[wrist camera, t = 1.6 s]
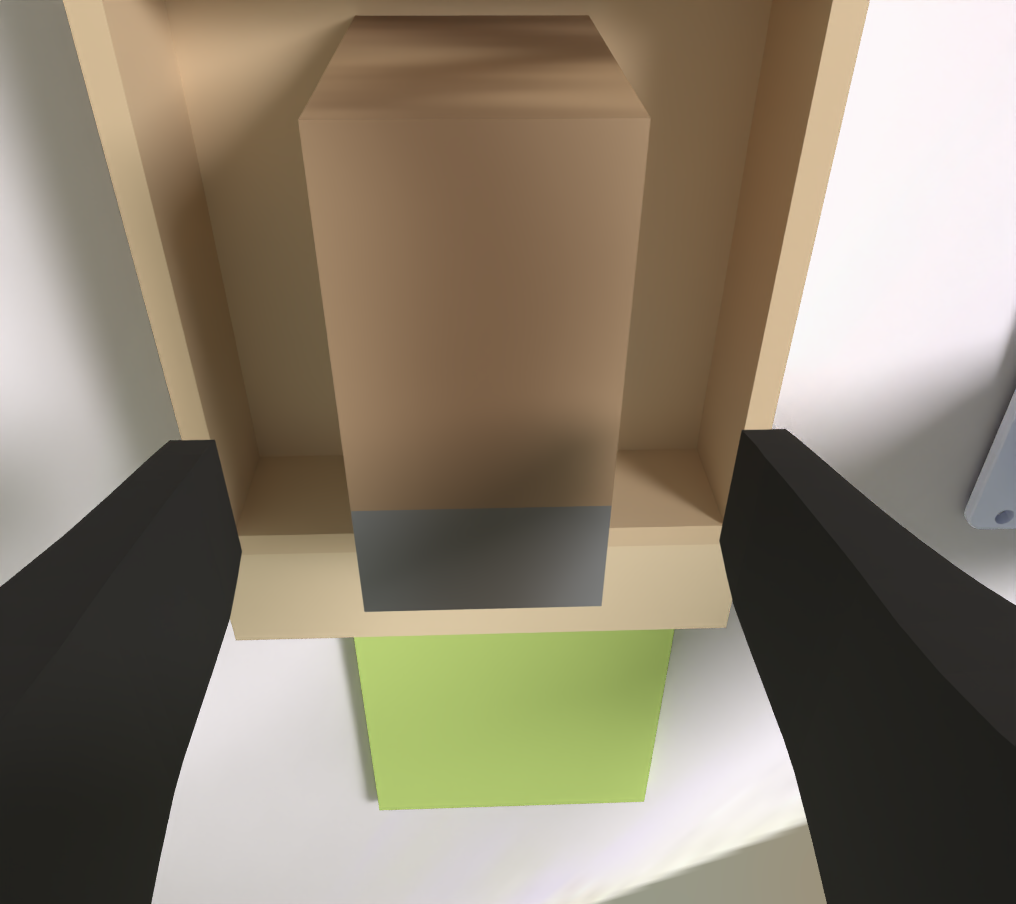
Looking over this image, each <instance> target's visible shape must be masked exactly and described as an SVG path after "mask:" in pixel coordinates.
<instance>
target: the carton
mask: <svg viewBox="0 0 1016 904" xmlns="http://www.w3.org/2000/svg"><path fill="white" fill-rule="evenodd" d="M869 1H870V0H63V3H64V7H65V10H66V14H67V18H68V22H69V25H70V29H71V33H72V36H73V40H74V44H75V47H76V51H77V55H78V58H79V62H80V66H81V70H82V73H83V77H84V81H85V84H86V88H87V92H88V95H89V99H90V103H91V106H92V110H93V114H94V118H95V121H96V125H97V129H98V132H99V136H100V140H101V143H102V147H103V151H104V155H105V158H106V162H107V166H108V169H109V173H110V177H111V180H112V184H113V188H114V191H115V195H116V199H117V203H118V206H119V210H120V214H121V217H122V221H123V225H124V228H125V232H126V236H127V239H128V243H129V247H130V251H131V254H132V258H133V262H134V265H135V269H136V273H137V276H138V280H139V284H140V287H141V291H142V295H143V299H144V302H145V306H146V310H147V313H148V317H149V321H150V324H151V328H152V332H153V336H154V339H155V343H156V347H157V350H158V354H159V358H160V361H161V365H162V369H163V372H164V376H165V380H166V384H167V387H168V391H169V395H170V398H171V402H172V406H173V409H174V413H175V417H176V420H177V424H178V428H179V432H180V435H181V439H182V440H215V441H216V446H217V450H218V454H219V458H220V462H221V466H222V470H223V474H224V479H225V483H226V487H227V491H228V495H229V499H230V503H231V507H232V512H233V516H234V520H235V524H236V528H237V532H238V536H239V540H240V544H241V549H242V555H241V561H240V567H239V573H238V579H237V585H236V590H235V596H234V601H233V606H232V611H231V616H230V620H231V624H232V627H233V631H234V635H235V638H236V640H268V639H307V638H345V637H384V636H423V635H462V634H501V633H540V632H579V631H618V630H657V629H696V628H726V625H727V621H728V616H729V612H730V608H731V603H732V596H731V592H730V588H729V584H728V580H727V575H726V571H725V566H724V561H723V556H722V552H721V547H720V542H719V539H720V534H721V529H722V524H723V519H724V514H725V509H726V504H727V499H728V494H729V490H730V485H731V480H732V475H733V470H734V465H735V460H736V455H737V450H738V445H739V441H740V436H741V431H742V430H764V429H772V424H773V420H774V416H775V411H776V407H777V403H778V398H779V394H780V390H781V385H782V381H783V376H784V372H785V368H786V363H787V359H788V355H789V350H790V346H791V342H792V337H793V333H794V328H795V324H796V320H797V315H798V311H799V307H800V302H801V298H802V294H803V289H804V285H805V280H806V276H807V272H808V267H809V263H810V259H811V254H812V250H813V246H814V241H815V237H816V232H817V228H818V224H819V219H820V215H821V211H822V206H823V202H824V198H825V193H826V189H827V184H828V180H829V176H830V171H831V167H832V163H833V158H834V154H835V150H836V145H837V141H838V136H839V132H840V128H841V123H842V119H843V115H844V110H845V106H846V102H847V97H848V93H849V88H850V84H851V80H852V75H853V71H854V67H855V62H856V58H857V54H858V49H859V45H860V40H861V36H862V32H863V27H864V23H865V19H866V14H867V10H868V6H869ZM461 15H589V17H590V18H591V20H592V22H593V23H594V25H595V27H596V28H597V30H598V31H599V33H600V35H601V36H602V38H603V40H604V41H605V43H606V45H607V46H608V48H609V50H610V51H611V53H612V55H613V56H614V58H615V60H616V61H617V63H618V65H619V66H620V68H621V70H622V71H623V73H624V75H625V76H626V78H627V80H628V81H629V83H630V85H631V86H632V88H633V90H634V91H635V93H636V95H637V96H638V98H639V100H640V101H641V103H642V105H643V106H644V108H645V110H646V111H647V113H648V115H649V116H650V118H651V121H650V131H649V141H648V151H647V161H646V171H645V180H644V190H643V200H642V210H641V220H640V230H639V240H638V250H637V260H636V270H635V280H634V289H633V299H632V309H631V319H630V329H629V339H628V349H627V359H626V369H625V379H624V389H623V398H622V408H621V418H620V428H619V438H618V448H617V458H616V468H615V478H614V488H613V498H612V507H611V517H610V527H609V537H608V547H607V557H606V567H605V577H604V587H603V597H602V606H586V607H546V608H506V609H465V610H425V611H384V612H364V605H363V598H362V590H361V583H360V576H359V568H358V561H357V553H356V546H355V538H354V531H353V524H352V516H351V509H350V501H349V494H348V487H347V479H346V472H345V464H344V457H343V450H342V442H341V435H340V427H339V420H338V413H337V405H336V398H335V390H334V383H333V375H332V368H331V361H330V353H329V346H328V338H327V331H326V324H325V316H324V309H323V301H322V294H321V287H320V279H319V272H318V264H317V257H316V250H315V242H314V235H313V227H312V220H311V213H310V205H309V198H308V190H307V183H306V175H305V168H304V161H303V153H302V146H301V138H300V131H299V124H298V119H299V117H300V116H301V114H302V112H303V110H304V108H305V106H306V105H307V103H308V101H309V99H310V97H311V96H312V94H313V92H314V90H315V88H316V86H317V85H318V83H319V81H320V79H321V77H322V75H323V74H324V72H325V70H326V68H327V66H328V64H329V63H330V61H331V59H332V57H333V55H334V53H335V52H336V50H337V48H338V46H339V44H340V43H341V41H342V39H343V37H344V35H345V33H346V32H347V30H348V28H349V26H350V24H351V22H352V21H353V19H354V17H355V16H461Z"/></svg>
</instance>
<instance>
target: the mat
mask: <svg viewBox="0 0 1016 904" xmlns="http://www.w3.org/2000/svg"><path fill="white" fill-rule="evenodd" d="M674 630H675V629H657V630H618V631H579V632H540V633H501V634H462V635H423V636H384V637H354V642H355V649H356V656H357V662H358V669H359V676H360V682H361V689H362V696H363V702H364V709H365V716H366V723H367V729H368V736H369V743H370V749H371V756H372V763H373V769H374V776H375V783H376V790H377V796H378V803H379V810H402V809H432V808H463V807H494V806H524V805H555V804H586V803H616V802H644V799H645V793H646V788H647V782H648V776H649V771H650V765H651V759H652V754H653V748H654V742H655V737H656V731H657V725H658V720H659V714H660V709H661V703H662V697H663V692H664V686H665V680H666V675H667V669H668V663H669V658H670V652H671V647H672V641H673V635H674Z"/></svg>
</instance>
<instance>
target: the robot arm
mask: <svg viewBox="0 0 1016 904" xmlns="http://www.w3.org/2000/svg"><path fill="white" fill-rule="evenodd" d="M1002 511H1004V512H1002ZM1000 512H1002V513H1001V514H999V513H1000ZM964 516H965V519H966V520H967V522H968V523H969V524H970V526H971V527H973V528H975V529H1016V389H1015V392H1014V394H1013V396H1012V399H1011V401H1010V404H1009V406H1008V408H1007V411H1006V413H1005V415H1004V418H1003V420H1002V423H1001V425H1000V427H999V430H998V432H997V434H996V437H995V439H994V442H993V444H992V446H991V449H990V451H989V453H988V456H987V458H986V461H985V463H984V465H983V468H982V470H981V472H980V475H979V477H978V480H977V482H976V484H975V487H974V489H973V491H972V494H971V496H970V499H969V501H968V503H967V506H966V508H965V511H964ZM719 542H720V547H721V552H722V556H723V561H724V566H725V571H726V575H727V580H728V584H729V588H730V592H731V596H732V601H733V604H734V607H735V610H736V613H737V616H738V618H739V621H740V624H741V627H742V629H743V632H744V635H745V637H746V640H747V643H748V646H749V648H750V651H751V654H752V656H753V659H754V662H755V664H756V667H757V670H758V672H759V675H760V678H761V680H762V683H763V686H764V688H765V691H766V694H767V696H768V699H769V702H770V704H771V707H772V710H773V712H774V715H775V718H776V720H777V723H778V726H779V728H780V731H781V733H782V736H783V739H784V742H785V745H786V748H787V751H788V754H789V757H790V760H791V763H792V766H793V769H794V772H795V776H796V780H797V784H798V788H799V792H800V795H801V799H802V803H803V807H804V811H805V815H806V819H807V823H808V826H809V830H810V834H811V838H812V842H813V846H814V850H815V855H816V859H817V863H818V867H819V872H820V876H821V880H822V884H823V889H824V893H825V897H826V901H827V904H1016V605H1014V604H1013V603H1011V602H1009V601H1008V600H1006V599H1005V598H1003V597H1001V596H1000V595H998V594H997V593H995V592H993V591H992V590H990V589H989V588H987V587H986V586H984V585H982V584H981V583H979V582H978V581H977V580H975V579H974V578H972V577H971V576H969V575H968V574H966V573H965V572H963V571H962V570H960V569H959V568H957V567H956V566H955V565H953V564H952V563H951V562H949V561H948V560H947V559H945V558H944V557H942V556H941V555H940V554H938V553H937V552H936V551H934V550H933V549H931V548H930V547H929V546H927V545H926V544H925V543H923V542H922V541H921V540H919V539H918V538H917V537H915V536H914V535H913V534H911V533H910V532H909V531H908V530H906V529H905V528H904V527H902V526H901V525H900V524H899V523H897V522H896V521H895V520H894V519H892V518H891V517H890V516H889V515H887V514H886V513H885V512H884V511H882V510H881V509H880V508H879V507H878V506H876V505H875V504H874V503H873V502H871V501H870V500H869V499H868V498H867V497H865V496H864V495H863V494H862V493H861V492H859V491H858V490H857V489H856V488H855V487H854V486H852V485H851V484H850V483H849V482H848V481H847V480H845V479H844V478H843V477H842V476H841V475H840V474H838V473H837V472H836V471H835V470H834V469H833V468H831V467H830V466H829V465H828V464H827V463H826V462H824V461H823V460H822V459H821V458H820V457H819V456H817V455H816V454H815V453H814V452H813V451H812V450H810V449H809V448H808V447H807V446H806V445H805V444H803V443H802V442H801V441H800V440H799V439H797V438H796V437H795V436H794V435H792V434H791V433H790V432H788V431H787V430H786V429H764V430H742V431H741V436H740V441H739V445H738V450H737V455H736V460H735V465H734V470H733V475H732V480H731V485H730V490H729V494H728V499H727V504H726V509H725V514H724V519H723V524H722V529H721V534H720V539H719ZM241 555H242V549H241V544H240V540H239V536H238V532H237V528H236V524H235V520H234V516H233V512H232V507H231V503H230V499H229V495H228V491H227V487H226V483H225V479H224V474H223V470H222V466H221V462H220V458H219V454H218V450H217V446H216V441H215V440H170V441H169V442H167V443H166V444H165V445H164V446H163V447H161V448H160V449H159V450H158V451H157V452H156V453H155V454H153V455H152V456H151V457H150V458H149V459H148V460H147V461H146V462H145V463H144V464H142V465H141V466H140V467H139V468H138V469H137V470H136V471H135V472H134V473H133V474H132V475H130V476H129V477H128V478H127V479H126V480H125V481H124V482H123V483H122V484H121V485H120V486H119V487H117V488H116V489H115V490H114V491H113V492H112V493H111V494H110V495H109V496H108V497H107V498H105V499H104V500H103V501H102V502H101V503H100V504H99V505H98V506H96V507H95V508H94V509H93V510H92V511H91V512H90V513H89V514H87V515H86V516H85V517H84V518H83V519H82V520H81V521H80V522H79V523H77V524H76V525H75V526H74V527H73V528H72V529H71V530H70V531H68V532H67V533H66V534H65V535H64V536H63V537H61V538H60V539H59V540H58V541H56V542H55V543H54V544H53V545H51V546H50V547H49V548H48V549H47V550H45V551H44V552H43V553H42V554H40V555H39V556H38V557H37V558H35V559H34V560H33V561H32V562H31V563H29V564H28V565H27V566H26V567H24V568H23V569H22V570H21V571H19V572H18V573H17V574H16V575H15V576H13V577H12V578H11V579H10V580H8V581H7V582H6V583H5V584H3V585H2V586H1V587H0V904H151V902H152V897H153V892H154V886H155V881H156V876H157V871H158V866H159V861H160V856H161V852H162V847H163V842H164V838H165V833H166V828H167V824H168V819H169V815H170V810H171V805H172V801H173V796H174V792H175V788H176V785H177V781H178V778H179V774H180V770H181V767H182V763H183V760H184V757H185V754H186V751H187V748H188V745H189V742H190V739H191V736H192V733H193V730H194V727H195V724H196V721H197V717H198V714H199V711H200V708H201V705H202V702H203V699H204V696H205V693H206V690H207V687H208V684H209V681H210V678H211V675H212V672H213V669H214V666H215V663H216V660H217V657H218V654H219V651H220V648H221V645H222V641H223V638H224V635H225V632H226V629H227V626H228V622H229V619H230V616H231V611H232V606H233V601H234V596H235V590H236V585H237V579H238V573H239V567H240V561H241Z"/></svg>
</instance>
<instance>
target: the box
mask: <svg viewBox="0 0 1016 904" xmlns="http://www.w3.org/2000/svg"><path fill="white" fill-rule="evenodd" d="M650 121H651V118H650V116H649V115H648V113H647V111H646V110H645V108H644V106H643V105H642V103H641V101H640V100H639V98H638V96H637V95H636V93H635V91H634V90H633V88H632V86H631V85H630V83H629V81H628V80H627V78H626V76H625V75H624V73H623V71H622V70H621V68H620V66H619V65H618V63H617V61H616V60H615V58H614V56H613V55H612V53H611V51H610V50H609V48H608V46H607V45H606V43H605V41H604V40H603V38H602V36H601V35H600V33H599V31H598V30H597V28H596V27H595V25H594V23H593V22H592V20H591V18H590V17H589V15H461V16H355V17H354V19H353V21H352V22H351V24H350V26H349V28H348V30H347V32H346V33H345V35H344V37H343V39H342V41H341V43H340V44H339V46H338V48H337V50H336V52H335V53H334V55H333V57H332V59H331V61H330V63H329V64H328V66H327V68H326V70H325V72H324V74H323V75H322V77H321V79H320V81H319V83H318V85H317V86H316V88H315V90H314V92H313V94H312V96H311V97H310V99H309V101H308V103H307V105H306V106H305V108H304V110H303V112H302V114H301V116H300V117H299V119H298V124H299V131H300V138H301V146H302V153H303V161H304V168H305V175H306V183H307V190H308V198H309V205H310V213H311V220H312V227H313V235H314V242H315V250H316V257H317V264H318V272H319V279H320V287H321V294H322V301H323V309H324V316H325V324H326V331H327V338H328V346H329V353H330V361H331V368H332V375H333V383H334V390H335V398H336V405H337V413H338V420H339V427H340V435H341V442H342V450H343V457H344V464H345V472H346V479H347V487H348V494H349V501H350V509H351V516H352V524H353V531H354V538H355V546H356V553H357V561H358V568H359V576H360V583H361V590H362V598H363V605H364V612H384V611H425V610H465V609H506V608H546V607H586V606H602V597H603V587H604V577H605V567H606V557H607V547H608V537H609V527H610V517H611V507H612V498H613V488H614V478H615V468H616V458H617V448H618V438H619V428H620V418H621V408H622V398H623V389H624V379H625V369H626V359H627V349H628V339H629V329H630V319H631V309H632V299H633V289H634V280H635V270H636V260H637V250H638V240H639V230H640V220H641V210H642V200H643V190H644V180H645V171H646V161H647V151H648V141H649V131H650Z"/></svg>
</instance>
